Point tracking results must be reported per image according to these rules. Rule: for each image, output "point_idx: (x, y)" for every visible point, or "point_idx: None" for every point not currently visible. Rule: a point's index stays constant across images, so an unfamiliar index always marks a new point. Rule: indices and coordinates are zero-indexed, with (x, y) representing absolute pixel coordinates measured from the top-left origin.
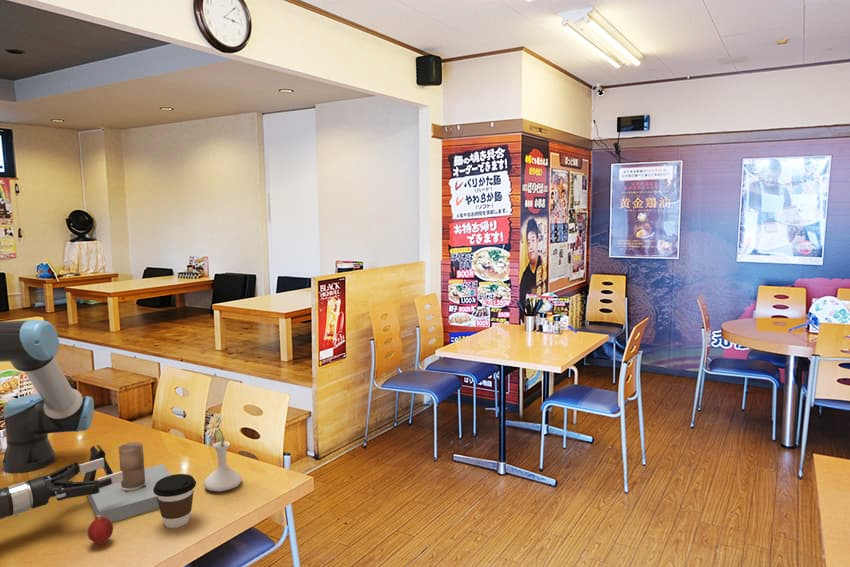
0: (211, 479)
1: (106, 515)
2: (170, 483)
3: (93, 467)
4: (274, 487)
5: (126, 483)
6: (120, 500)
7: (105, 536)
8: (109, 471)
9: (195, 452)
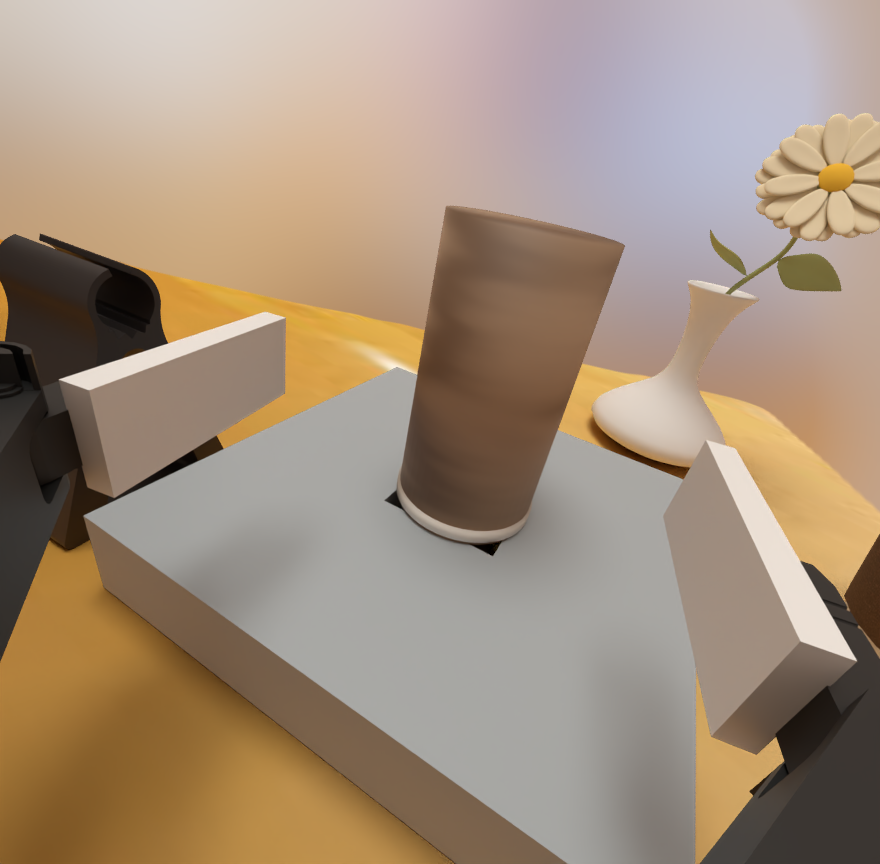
0: (678, 426)
1: None
2: None
3: (223, 402)
4: (760, 434)
5: (498, 502)
6: (584, 653)
7: None
8: None
9: (366, 332)
